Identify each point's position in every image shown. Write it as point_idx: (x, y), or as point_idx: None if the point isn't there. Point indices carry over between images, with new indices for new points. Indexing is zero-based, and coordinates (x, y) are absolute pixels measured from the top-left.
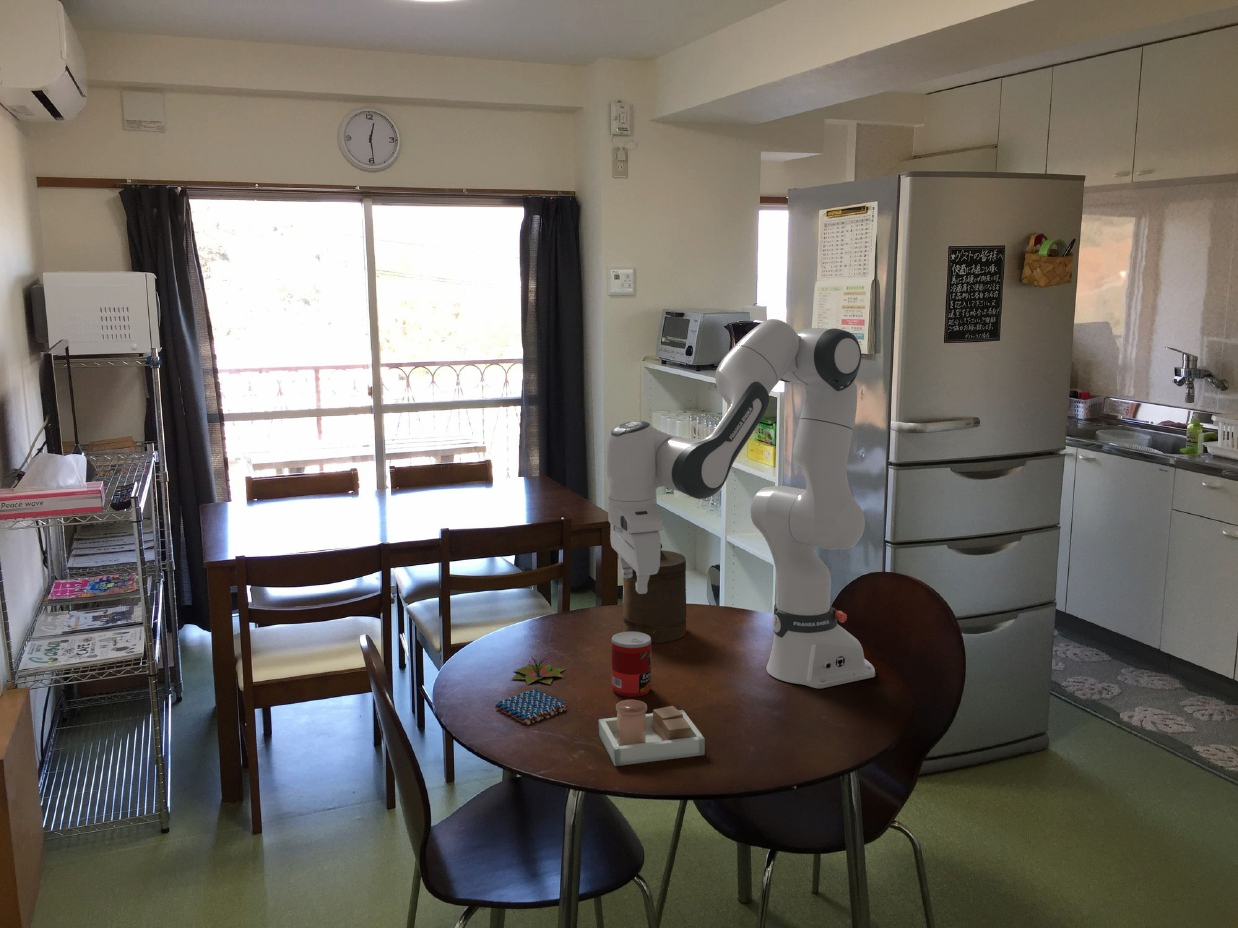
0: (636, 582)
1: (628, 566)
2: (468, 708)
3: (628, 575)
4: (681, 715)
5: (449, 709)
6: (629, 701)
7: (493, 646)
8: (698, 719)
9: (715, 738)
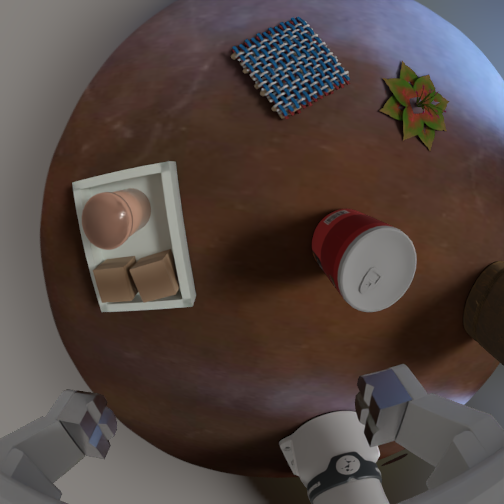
0: (78, 426)
1: (404, 433)
2: None
3: (362, 401)
4: (142, 299)
5: None
6: (124, 220)
7: (492, 82)
8: (213, 319)
9: (153, 325)
